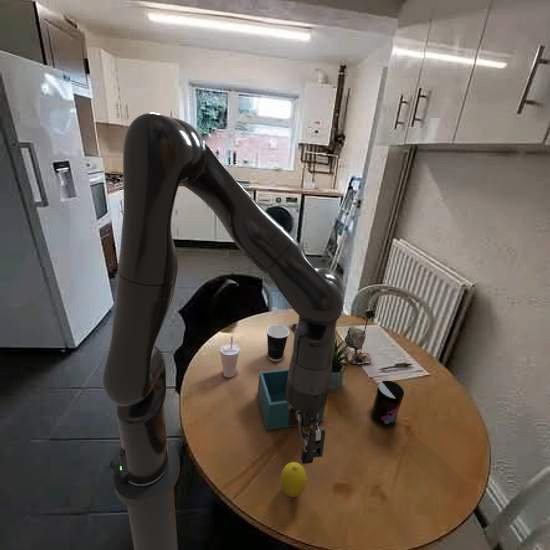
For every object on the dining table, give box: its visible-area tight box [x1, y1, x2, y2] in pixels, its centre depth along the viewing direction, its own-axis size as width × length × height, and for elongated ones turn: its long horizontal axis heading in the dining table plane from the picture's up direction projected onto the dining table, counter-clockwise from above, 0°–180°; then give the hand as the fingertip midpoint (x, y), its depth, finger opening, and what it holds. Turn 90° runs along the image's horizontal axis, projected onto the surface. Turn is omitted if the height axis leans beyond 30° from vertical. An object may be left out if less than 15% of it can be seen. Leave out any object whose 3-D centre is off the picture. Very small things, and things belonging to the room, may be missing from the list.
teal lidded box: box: [257, 368, 326, 431], centre depth 87 cm, size 16×13×9 cm
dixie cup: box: [265, 324, 290, 362], centre depth 108 cm, size 8×8×11 cm
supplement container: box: [371, 380, 405, 427], centre depth 86 cm, size 7×7×10 cm
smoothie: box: [219, 335, 241, 379], centre depth 97 cm, size 6×6×14 cm
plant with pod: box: [341, 308, 376, 365], centre depth 109 cm, size 8×11×20 cm
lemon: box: [279, 461, 308, 498], centre depth 66 cm, size 6×6×8 cm
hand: (299, 441), depth 62 cm, fingers open, 8 cm apart
